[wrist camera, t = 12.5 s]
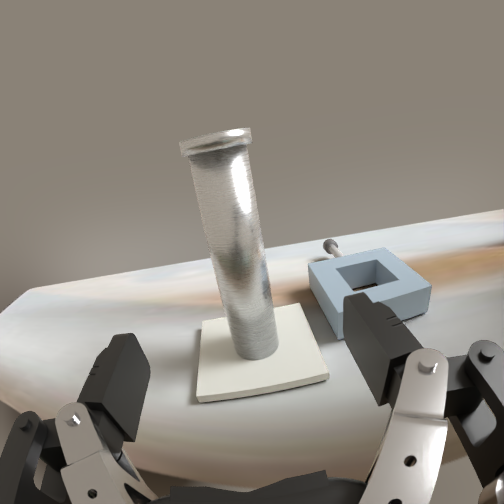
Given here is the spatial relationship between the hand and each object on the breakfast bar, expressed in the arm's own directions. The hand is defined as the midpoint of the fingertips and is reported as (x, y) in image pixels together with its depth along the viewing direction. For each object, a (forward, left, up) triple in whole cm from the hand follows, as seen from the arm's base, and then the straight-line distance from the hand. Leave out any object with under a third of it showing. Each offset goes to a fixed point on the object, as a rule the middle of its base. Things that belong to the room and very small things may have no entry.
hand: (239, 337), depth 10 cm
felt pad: (0, -11, -10) cm, 15 cm away
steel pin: (0, -10, -10) cm, 14 cm away
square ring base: (-12, -18, -10) cm, 24 cm away
